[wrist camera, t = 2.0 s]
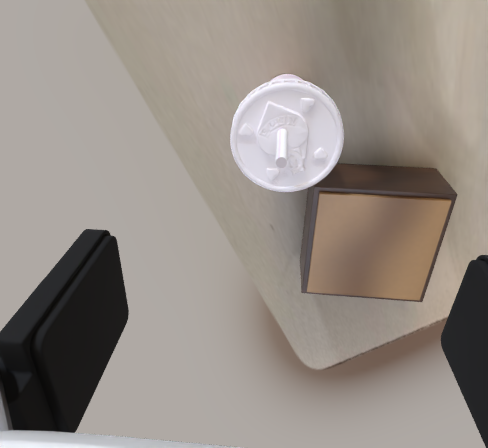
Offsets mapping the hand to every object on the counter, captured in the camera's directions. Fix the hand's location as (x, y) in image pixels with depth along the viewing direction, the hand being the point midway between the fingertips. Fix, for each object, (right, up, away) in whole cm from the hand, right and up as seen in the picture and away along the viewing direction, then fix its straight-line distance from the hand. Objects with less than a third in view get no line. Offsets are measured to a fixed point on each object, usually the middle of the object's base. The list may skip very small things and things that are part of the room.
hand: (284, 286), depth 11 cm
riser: (+9, +2, +24) cm, 26 cm away
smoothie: (+2, +11, +20) cm, 23 cm away
